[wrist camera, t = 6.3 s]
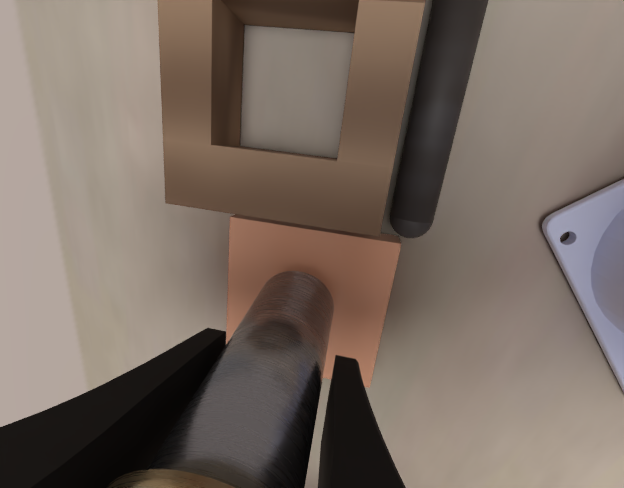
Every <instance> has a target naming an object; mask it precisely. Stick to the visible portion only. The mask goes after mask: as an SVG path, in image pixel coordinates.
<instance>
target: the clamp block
mask: <svg viewBox="0 0 624 488" xmlns="http://www.w3.org/2000/svg"><path fill="white" fill-rule="evenodd" d="M425 1H426V0H158V22H159V47H160V73H161V98H162V124H163V149H164V174H165V200H166V203H168V204H174V205H181V206H187V207H194V208H200V209H206V210H213V211H219V212H225V213H232V214H238V215H245V216H251V217H257V218H264V219H270V220H277V221H283V222H289V223H296V224H302V225H308V226H315V227H321V228H328V229H334V230H340V231H347V232H353V233H360V234H366V235H372V236H380V231H381V226H382V221H383V216H384V211H385V206H386V201H387V195H388V190H389V185H390V180H391V175H392V170H393V165H394V160H395V155H396V149H397V144H398V139H399V134H400V129H401V124H402V119H403V114H404V108H405V103H406V98H407V93H408V88H409V83H410V78H411V73H412V68H413V62H414V57H415V52H416V47H417V42H418V37H419V32H420V27H421V22H422V16H423V11H424V6H425ZM487 3H488V0H433V5H432V9H431V14H430V19H429V24H428V29H427V34H426V39H425V44H424V49H423V54H422V59H421V64H420V69H419V74H418V79H417V84H416V89H415V94H414V98H413V103H412V108H411V113H410V118H409V123H408V128H407V133H406V138H405V143H404V148H403V153H402V158H401V163H400V168H399V173H398V178H397V183H396V187H395V192H394V197H393V202H392V207H391V212H390V223H391V226H392V228H393V229H394V231H395V232H396V233H398V234H399V235H400V236H403V237H406V238H416V237H419V236H422V235H423V234H425V233H426V232H427V231H428V230H429V229H430V227H431V225H432V223H433V219H434V215H435V211H436V207H437V203H438V199H439V195H440V191H441V187H442V183H443V179H444V175H445V171H446V167H447V163H448V159H449V155H450V151H451V147H452V143H453V139H454V135H455V131H456V127H457V123H458V119H459V115H460V111H461V107H462V103H463V99H464V95H465V91H466V87H467V83H468V79H469V75H470V71H471V67H472V63H473V59H474V55H475V51H476V47H477V43H478V39H479V35H480V31H481V27H482V23H483V19H484V15H485V11H486V7H487ZM244 25H256V26H270V27H284V28H298V29H312V30H326V31H340V32H354V41H353V48H352V55H351V62H350V70H349V77H348V84H347V92H346V99H345V106H344V114H343V121H342V128H341V135H340V143H339V150H338V157H337V158H329V157H321V156H313V155H305V154H297V153H289V152H281V151H273V150H265V149H257V148H249V147H241V146H240V125H241V98H242V71H243V44H244Z"/></svg>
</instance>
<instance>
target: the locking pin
mask: <svg viewBox="0 0 624 488" xmlns="http://www.w3.org/2000/svg"><path fill="white" fill-rule="evenodd" d="M333 313H334V302H333V298H332V296H331V293H330V292H329V290H328V288H327V287H326V286H325V285H324V284H323V283H322V282H321V281H320V280H319V279H317V278H316V277H314V276H312V275H310V274H307V273H304V272H299V271H286V272H282V273H278V274H276V275H274V276H273V277H271V278H270V279H269V280H268V281H267V282H266V283H265V285H264V286H263V288H262V289H261V291H260V293H259V294H258V296H257V297H256V299H255V300H254V302H253V304H252V305H251V307H250V308H249V310H248V311H247V313H246V314H245V316H244V318H243V319H242V321H241V322H240V324H239V325H238V327H237V329H236V330H235V332H234V333H233V335H232V336H231V338H230V340H229V341H228V343H227V344H226V346H225V347H224V349H223V351H222V352H221V354H220V355H219V357H218V358H217V360H216V362H215V363H214V365H213V366H212V368H211V369H210V371H209V373H208V374H207V376H206V377H205V379H204V380H203V382H202V384H201V385H200V387H199V388H198V390H197V391H196V393H195V395H194V396H193V398H192V399H191V401H190V402H189V404H188V406H187V407H186V409H185V410H184V412H183V413H182V415H181V417H180V418H179V420H178V421H177V423H176V424H175V426H174V427H173V429H172V431H171V432H170V434H169V435H168V437H167V438H166V440H165V442H164V443H163V445H162V446H161V448H160V449H159V451H158V453H157V454H156V456H155V457H154V459H153V460H152V462H151V464H150V465H149V467H148V468H147V470H139V471H134V472H131V473H127V474H124V475H122V476H120V477H118V478H116V479H115V480H114V481H112V482H111V483H110V484H109V485H108V486H107V488H304V486H305V480H306V474H307V468H308V462H309V456H310V450H311V444H312V438H313V432H314V426H315V420H316V414H317V408H318V402H319V396H320V390H321V384H322V378H323V373H324V367H325V361H326V355H327V349H328V343H329V337H330V331H331V325H332V319H333Z"/></svg>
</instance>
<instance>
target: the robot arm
mask: <svg viewBox="0 0 624 488" xmlns="http://www.w3.org/2000/svg"><path fill="white" fill-rule="evenodd" d="M542 229H543V232H544V234H545V236H546V238H547V240H548V242H549V244H550V246H551V248H552V250H553V252H554V254H555V256H556V258H557V260H558V262H559V264H560V266H561V268H562V270H563V272H564V274H565V276H566V278H567V280H568V282H569V284H570V286H571V288H572V290H573V292H574V294H575V296H576V298H577V300H578V302H579V304H580V306H581V308H582V310H583V312H584V314H585V316H586V318H587V320H588V322H589V324H590V326H591V328H592V330H593V332H594V334H595V336H596V338H597V340H598V342H599V344H600V346H601V348H602V350H603V352H604V354H605V356H606V358H607V360H608V362H609V364H610V366H611V368H612V370H613V372H614V374H615V376H616V378H617V380H618V382H619V384H620V386H621V388H622V390H623V392H624V179H622V180H620V181H618V182H616V183H614V184H612V185H610V186H608V187H605V188H603V189H601V190H599V191H597V192H595V193H593V194H591V195H589V196H587V197H585V198H583V199H581V200H579V201H576V202H574V203H572V204H570V205H568V206H566V207H564V208H562V209H560V210H558V211H556V212H554V213H552V214H550V215H549V216H547V217H546V218H545V220H544V221H543V224H542ZM568 231H569V237H568V239H567V240H565V241H563V242H560V237H561V235H562V234H564V233H565V232H568ZM225 346H226V332H225V331H220V330H215V329H211V328H207V329H205V330H203V331H201V332H199V333H197V334H196V335H194V336H192V337H190V338H189V339H187V340H185V341H183V342H182V343H180V344H178V345H176V346H175V347H173V348H171V349H169V350H168V351H166V352H164V353H162V354H160V355H159V356H157V357H155V358H153V359H151V360H150V361H148V362H146V363H144V364H142V365H140V366H138V367H136V368H135V369H133V370H131V371H129V372H127V373H125V374H123V375H121V376H119V377H117V378H115V379H113V380H111V381H109V382H107V383H105V384H103V385H101V386H99V387H97V388H95V389H93V390H90V391H88V392H86V393H84V394H82V395H80V396H77V397H75V398H73V399H71V400H68V401H66V402H63V403H61V404H59V405H57V406H54V407H52V408H49V409H47V410H45V411H42V412H40V413H37V414H35V415H32V416H29V417H27V418H24V419H22V420H19V421H16V422H13V423H11V424H8V425H5V426H3V427H0V488H107V486H108V485H109V484H110V483H111V482H112V481H114V480H115V479H116V478H118V477H120V476H122V475H124V474H127V473H131V472H134V471H139V470H147V468H148V467H149V465H150V464H151V462H152V460H153V459H154V457H155V456H156V454H157V453H158V451H159V449H160V448H161V446H162V445H163V443H164V442H165V440H166V438H167V437H168V435H169V434H170V432H171V431H172V429H173V427H174V426H175V424H176V423H177V421H178V420H179V418H180V417H181V415H182V413H183V412H184V410H185V409H186V407H187V406H188V404H189V402H190V401H191V399H192V398H193V396H194V395H195V393H196V391H197V390H198V388H199V387H200V385H201V384H202V382H203V380H204V379H205V377H206V376H207V374H208V373H209V371H210V369H211V368H212V366H213V365H214V363H215V362H216V360H217V358H218V357H219V355H220V354H221V352H222V351H223V349H224V347H225ZM318 488H406V487H405V485H404V483H403V481H402V479H401V477H400V475H399V473H398V471H397V469H396V467H395V464H394V462H393V460H392V458H391V455H390V453H389V451H388V449H387V446H386V444H385V442H384V439H383V437H382V435H381V432H380V430H379V427H378V424H377V422H376V419H375V416H374V414H373V411H372V408H371V406H370V403H369V400H368V397H367V394H366V390H365V387H364V384H363V380H362V376H361V372H360V367H359V363H358V361H357V360H356V359H353V358H349V357H344V356H339V355H335V361H334V367H333V373H332V379H331V385H330V391H329V396H328V402H327V408H326V415H325V421H324V428H323V434H322V441H321V451H320V466H319V480H318Z"/></svg>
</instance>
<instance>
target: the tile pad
mask: <svg viewBox="0 0 624 488" xmlns="http://www.w3.org/2000/svg"><path fill="white" fill-rule="evenodd" d="M400 248H401V242H400V239H399V236H397V235H390V234H384V233H380V236H372V235H366V234H360V233H353V232H347V231H340V230H334V229H328V228H321V227H315V226H308V225H302V224H296V223H289V222H283V221H277V220H270V219H264V218H257V217H251V216H245V215H238V214H235V215H233V216H231V217H230V232H229V266H228V300H227V334H226V344H227V343H228V341H229V340H230V338H231V336H232V335H233V333H234V332H235V330H236V329H237V327H238V325H239V324H240V322H241V321H242V319H243V318H244V316H245V314H246V313H247V311H248V310H249V308H250V307H251V305H252V304H253V302H254V300H255V299H256V297H257V296H258V294H259V293H260V291H261V289H262V288H263V286H264V285H265V283H266V282H267V281H268V280H269V279H270V278H271V277H273V276H274V275H276V274H278V273H282V272H286V271H299V272H304V273H307V274H310V275H312V276H314V277H316V278H317V279H319V280H320V281H321V282H322V283H323V284H324V285H325V286H326V287H327V288H328V290H329V292H330V293H331V296H332V298H333V302H334V313H333V319H332V325H331V331H330V337H329V343H328V349H327V355H326V361H325V367H324V373H323V378H327V379H332V373H333V367H334V361H335V355H339V356H344V357H349V358H353V359H356V360H357V361H358V363H359V367H360V372H361V376H362V380H363V384H364V387H368V388H370V384H371V379H372V375H373V370H374V366H375V361H376V357H377V352H378V348H379V343H380V339H381V334H382V330H383V325H384V321H385V316H386V311H387V307H388V302H389V298H390V293H391V289H392V284H393V280H394V275H395V271H396V266H397V262H398V257H399V253H400Z"/></svg>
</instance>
